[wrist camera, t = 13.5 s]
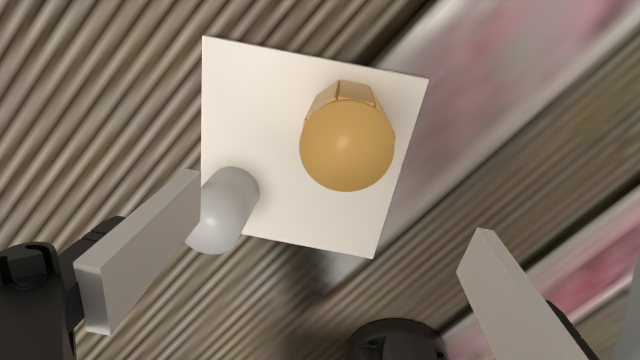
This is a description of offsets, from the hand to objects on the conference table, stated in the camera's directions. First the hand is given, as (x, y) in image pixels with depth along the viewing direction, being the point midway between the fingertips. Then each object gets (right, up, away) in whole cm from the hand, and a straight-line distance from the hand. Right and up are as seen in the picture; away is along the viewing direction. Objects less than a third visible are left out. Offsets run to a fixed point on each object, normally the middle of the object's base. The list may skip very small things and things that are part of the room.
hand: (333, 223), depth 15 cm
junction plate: (-3, +5, +21) cm, 22 cm away
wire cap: (+2, +9, +17) cm, 19 cm away
